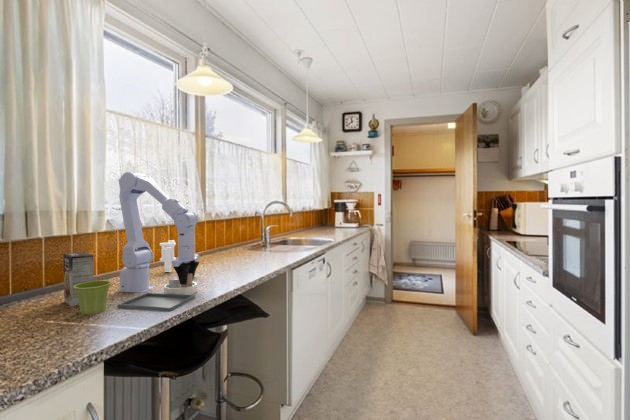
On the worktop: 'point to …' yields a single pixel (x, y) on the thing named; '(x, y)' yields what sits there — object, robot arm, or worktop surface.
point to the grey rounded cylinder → (174, 283)
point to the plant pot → (92, 296)
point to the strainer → (168, 254)
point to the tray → (157, 301)
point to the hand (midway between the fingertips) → (186, 282)
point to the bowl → (181, 289)
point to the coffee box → (76, 274)
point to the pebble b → (188, 281)
